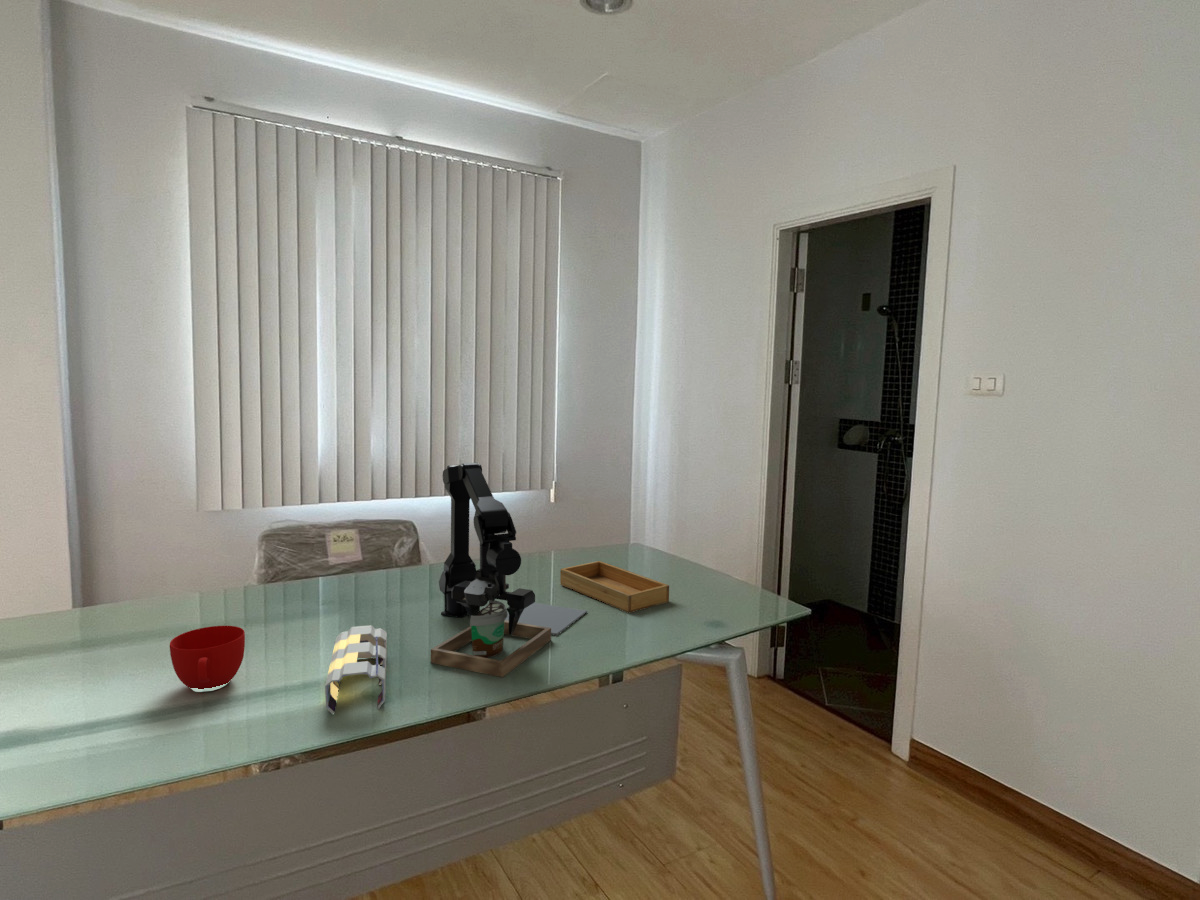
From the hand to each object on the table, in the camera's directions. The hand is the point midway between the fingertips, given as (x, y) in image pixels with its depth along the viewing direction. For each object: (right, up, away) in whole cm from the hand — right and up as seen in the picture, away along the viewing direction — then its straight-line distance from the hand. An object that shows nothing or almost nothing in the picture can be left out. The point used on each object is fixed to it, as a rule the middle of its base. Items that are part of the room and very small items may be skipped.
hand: (493, 631), depth 154 cm
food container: (0, -5, 0) cm, 5 cm away
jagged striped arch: (-24, -7, -16) cm, 30 cm away
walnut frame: (0, -5, 0) cm, 5 cm away
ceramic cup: (-53, -6, -20) cm, 57 cm away
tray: (+28, -1, +43) cm, 51 cm away
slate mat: (+9, -3, +21) cm, 23 cm away
